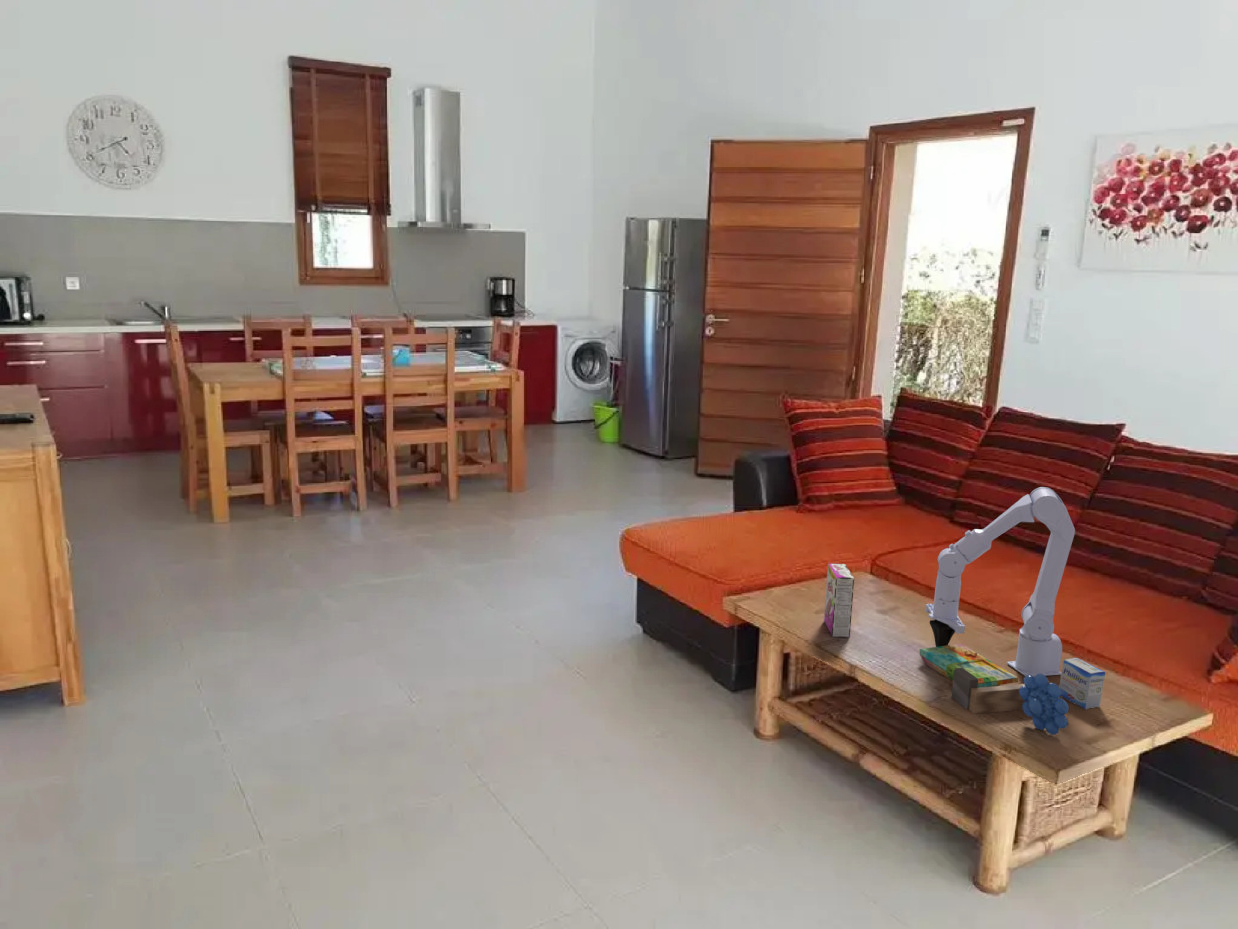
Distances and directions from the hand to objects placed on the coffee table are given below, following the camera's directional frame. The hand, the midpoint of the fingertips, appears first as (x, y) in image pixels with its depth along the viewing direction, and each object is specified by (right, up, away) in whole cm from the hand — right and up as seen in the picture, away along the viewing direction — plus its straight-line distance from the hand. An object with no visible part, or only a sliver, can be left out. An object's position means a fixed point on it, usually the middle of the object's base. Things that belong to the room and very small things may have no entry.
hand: (941, 649), depth 237 cm
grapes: (+8, -10, -35) cm, 37 cm away
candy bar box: (-22, +2, +16) cm, 28 cm away
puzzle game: (+2, -5, -10) cm, 12 cm away
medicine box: (+24, -8, -21) cm, 33 cm away
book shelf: (+5, -7, -23) cm, 24 cm away
